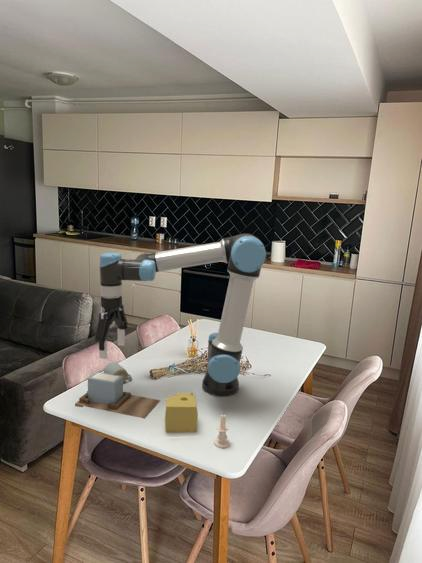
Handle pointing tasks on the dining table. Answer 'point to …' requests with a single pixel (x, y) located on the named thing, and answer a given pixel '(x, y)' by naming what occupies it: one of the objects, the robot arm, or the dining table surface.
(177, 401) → the cheese
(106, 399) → the pale blue block
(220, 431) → the chess piece
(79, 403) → the ledge board
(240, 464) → the dining table surface
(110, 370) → the ceramic mug
